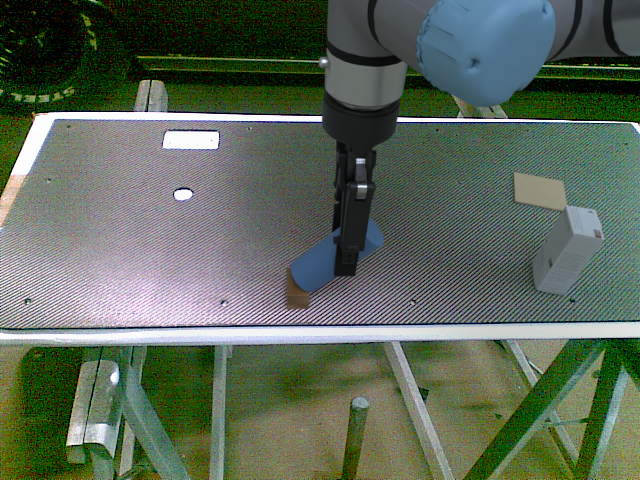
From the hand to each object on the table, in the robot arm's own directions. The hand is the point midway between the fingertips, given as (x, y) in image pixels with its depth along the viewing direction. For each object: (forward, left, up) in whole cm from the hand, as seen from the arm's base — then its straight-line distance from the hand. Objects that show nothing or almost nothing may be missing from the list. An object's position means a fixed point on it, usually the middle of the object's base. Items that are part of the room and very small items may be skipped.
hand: (342, 257), depth 62 cm
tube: (+2, 0, -1) cm, 2 cm away
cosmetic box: (+12, -30, -8) cm, 33 cm away
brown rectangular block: (-2, +5, -7) cm, 9 cm away
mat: (+34, -30, -7) cm, 46 cm away
